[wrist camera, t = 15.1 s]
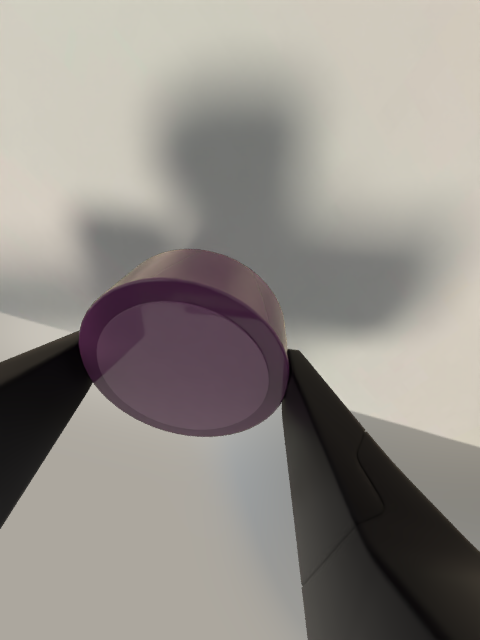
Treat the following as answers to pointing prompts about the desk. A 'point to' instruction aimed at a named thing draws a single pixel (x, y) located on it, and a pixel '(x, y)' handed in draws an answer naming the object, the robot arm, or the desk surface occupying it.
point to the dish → (189, 344)
